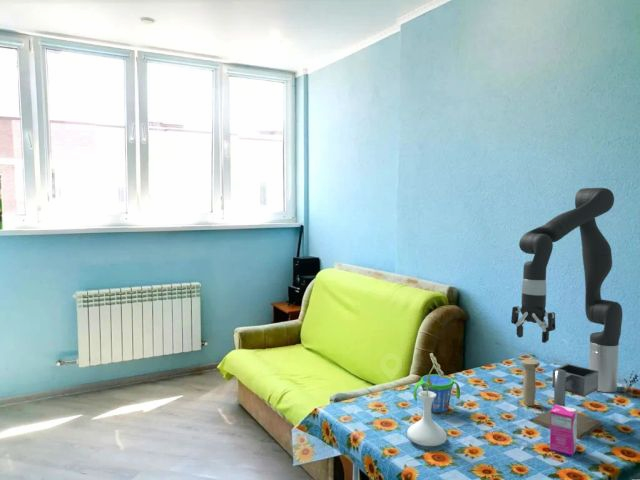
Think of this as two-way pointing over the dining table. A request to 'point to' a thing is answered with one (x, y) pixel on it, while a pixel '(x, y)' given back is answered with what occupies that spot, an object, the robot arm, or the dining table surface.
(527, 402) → the handle
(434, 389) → the snack cup
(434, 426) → the flower in vase
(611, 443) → the dining table surface
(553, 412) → the supplement box
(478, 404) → the dining table surface
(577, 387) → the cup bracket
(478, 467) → the dining table surface
